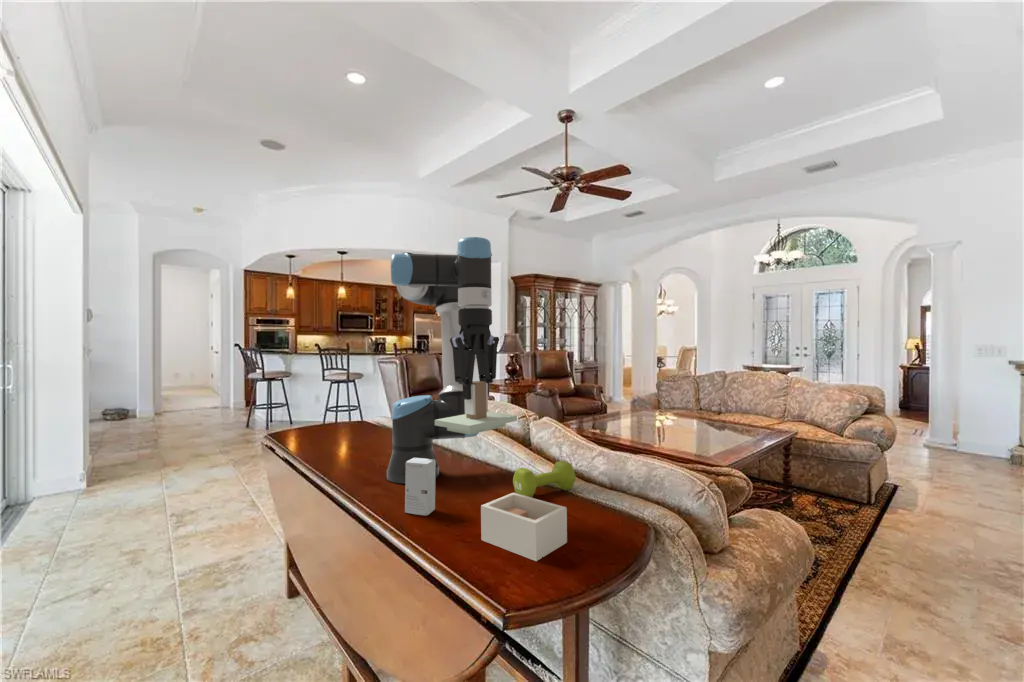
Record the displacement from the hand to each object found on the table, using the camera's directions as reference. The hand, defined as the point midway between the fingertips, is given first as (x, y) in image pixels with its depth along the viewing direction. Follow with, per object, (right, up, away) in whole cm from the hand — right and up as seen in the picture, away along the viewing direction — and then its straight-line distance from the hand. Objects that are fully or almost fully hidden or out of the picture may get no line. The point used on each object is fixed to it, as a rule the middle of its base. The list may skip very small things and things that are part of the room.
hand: (476, 412), depth 104 cm
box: (+10, -24, -11) cm, 28 cm away
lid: (0, -4, 0) cm, 4 cm away
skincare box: (-14, -24, +6) cm, 28 cm away
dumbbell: (+17, -24, +18) cm, 34 cm away
